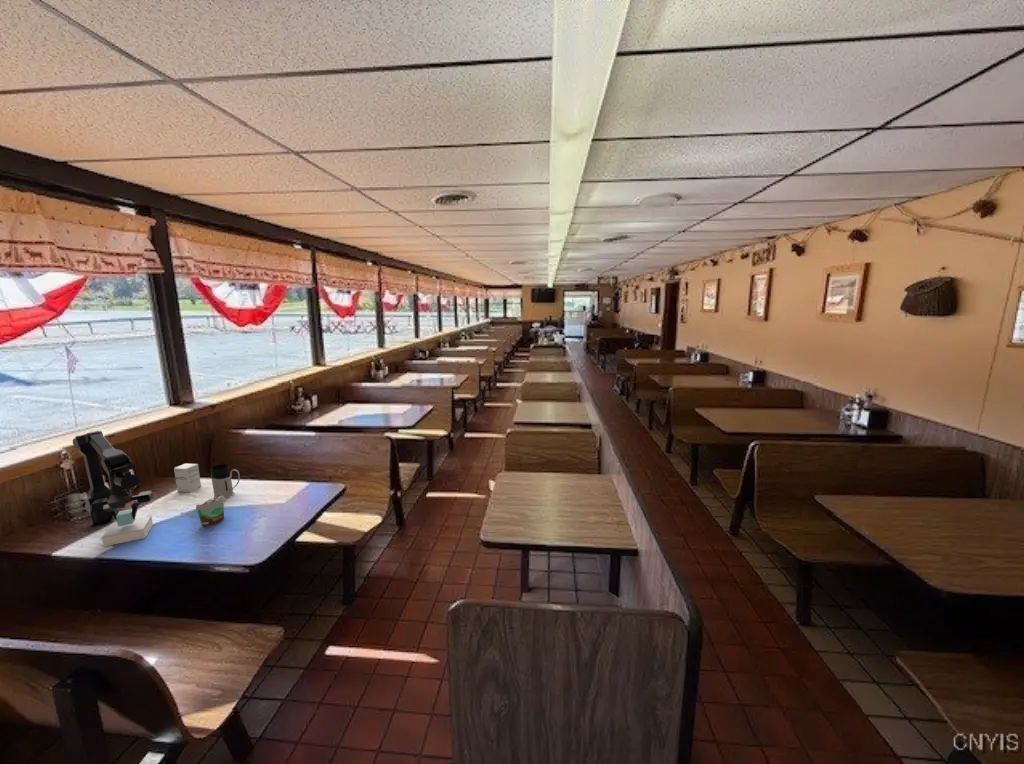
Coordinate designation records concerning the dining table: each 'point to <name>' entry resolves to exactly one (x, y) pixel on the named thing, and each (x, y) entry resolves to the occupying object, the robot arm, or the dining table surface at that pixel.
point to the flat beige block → (127, 531)
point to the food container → (211, 511)
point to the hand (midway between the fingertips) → (126, 520)
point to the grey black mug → (222, 480)
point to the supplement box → (187, 477)
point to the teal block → (125, 517)
